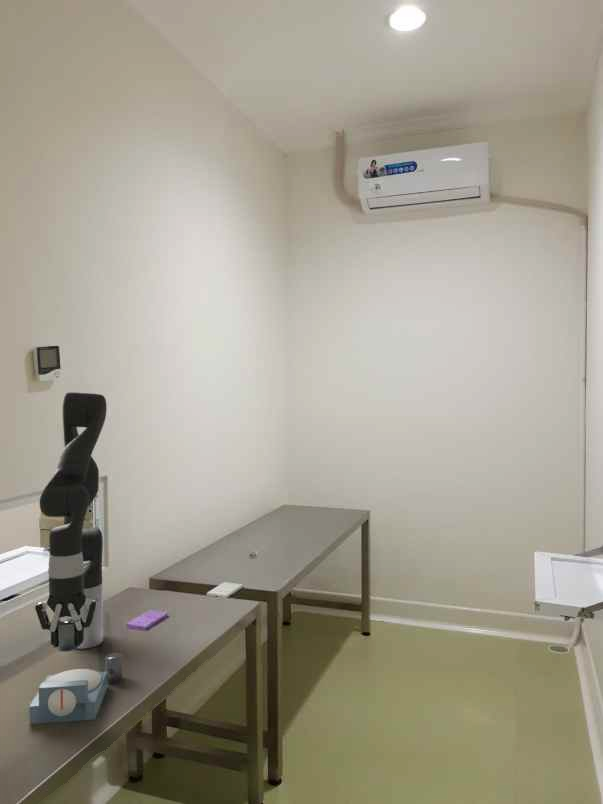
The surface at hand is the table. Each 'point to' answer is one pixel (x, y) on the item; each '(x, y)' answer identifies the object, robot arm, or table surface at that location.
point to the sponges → (146, 620)
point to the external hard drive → (225, 589)
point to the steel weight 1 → (66, 635)
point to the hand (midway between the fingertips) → (67, 645)
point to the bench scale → (69, 697)
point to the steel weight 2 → (114, 667)
